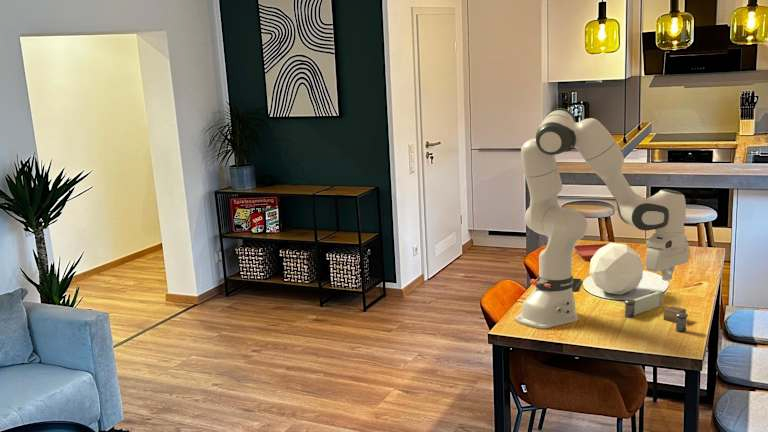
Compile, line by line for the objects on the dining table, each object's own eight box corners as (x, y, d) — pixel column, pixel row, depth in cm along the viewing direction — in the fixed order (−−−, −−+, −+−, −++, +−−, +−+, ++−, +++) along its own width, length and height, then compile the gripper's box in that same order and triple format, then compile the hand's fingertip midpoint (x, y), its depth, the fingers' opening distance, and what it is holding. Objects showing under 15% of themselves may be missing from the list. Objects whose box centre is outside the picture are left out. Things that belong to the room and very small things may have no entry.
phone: (556, 288, 274) (562, 277, 287) (556, 291, 274) (562, 280, 288) (577, 289, 271) (581, 278, 284) (577, 292, 271) (581, 281, 285)
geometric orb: (629, 312, 266) (651, 280, 251) (578, 293, 268) (597, 260, 253) (633, 276, 278) (655, 243, 264) (584, 258, 281) (603, 225, 266)
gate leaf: (662, 305, 250) (663, 291, 249) (634, 314, 242) (635, 300, 241) (659, 304, 251) (659, 290, 250) (631, 313, 243) (631, 299, 242)
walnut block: (677, 324, 233) (677, 312, 232) (663, 320, 237) (663, 309, 236) (685, 320, 236) (686, 309, 235) (672, 316, 240) (672, 305, 239)
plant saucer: (581, 262, 312) (581, 255, 312) (572, 252, 330) (572, 245, 329) (622, 260, 311) (622, 253, 311) (611, 250, 329) (611, 243, 328)
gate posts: (683, 333, 224) (683, 317, 223) (622, 316, 242) (622, 301, 241) (689, 330, 226) (689, 314, 225) (628, 314, 244) (628, 298, 243)
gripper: (677, 232, 238) (675, 272, 240) (643, 241, 226) (640, 283, 228) (695, 235, 233) (692, 276, 235) (661, 245, 221) (658, 287, 223)
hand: (667, 279), depth 232 cm, fingers closed
